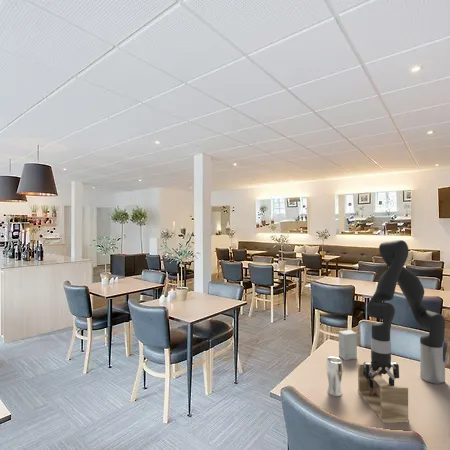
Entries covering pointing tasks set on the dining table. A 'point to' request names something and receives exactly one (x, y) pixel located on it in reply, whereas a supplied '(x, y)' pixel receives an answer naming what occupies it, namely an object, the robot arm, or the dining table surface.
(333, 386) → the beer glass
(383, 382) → the shelf board
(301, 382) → the dining table surface
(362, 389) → the peg jig
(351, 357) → the skincare box
